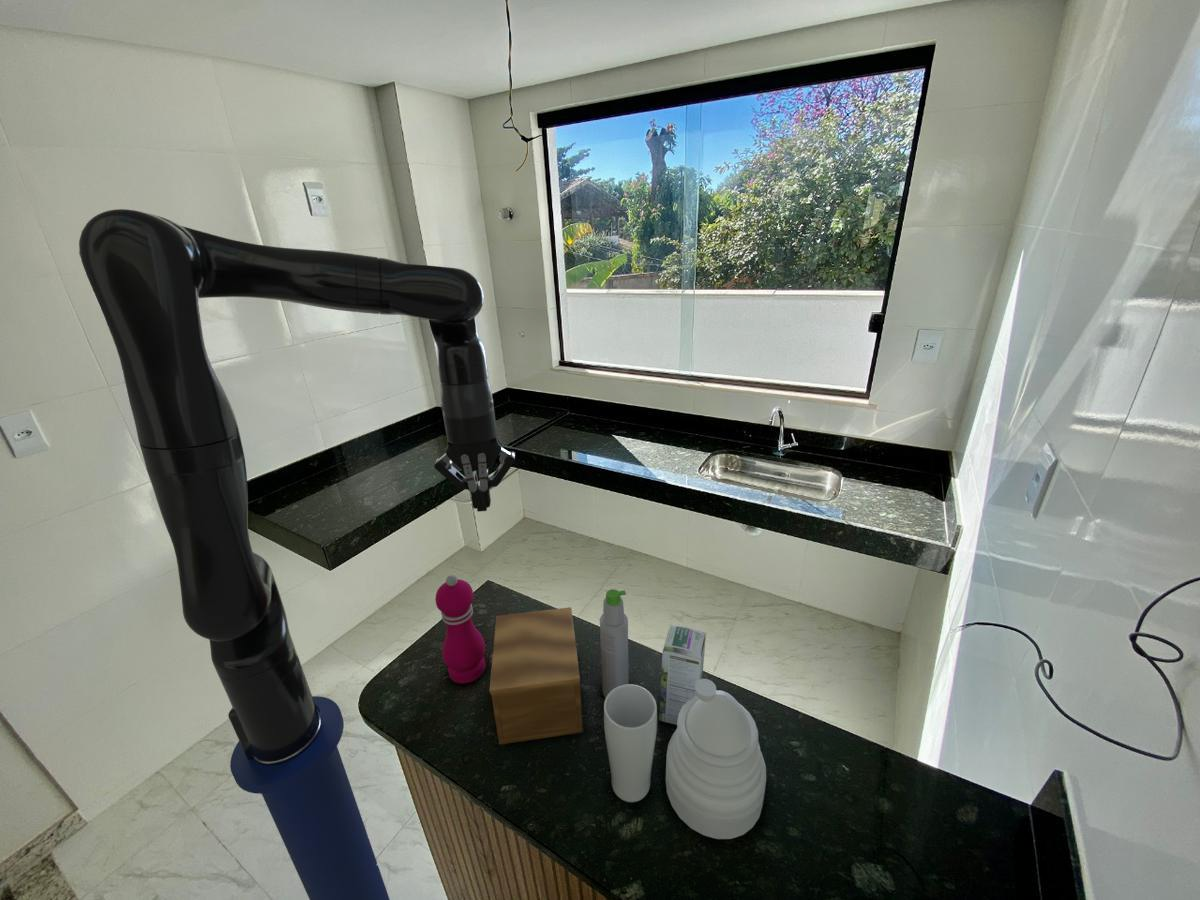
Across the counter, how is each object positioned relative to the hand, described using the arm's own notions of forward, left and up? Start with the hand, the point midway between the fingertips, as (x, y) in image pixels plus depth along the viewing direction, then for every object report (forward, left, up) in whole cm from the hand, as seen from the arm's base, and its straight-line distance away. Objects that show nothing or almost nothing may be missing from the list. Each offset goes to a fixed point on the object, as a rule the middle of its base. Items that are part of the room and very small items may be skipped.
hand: (482, 508), depth 80 cm
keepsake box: (+7, -13, -29) cm, 33 cm away
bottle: (+19, -14, -29) cm, 38 cm away
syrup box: (+29, -19, -29) cm, 45 cm away
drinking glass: (+19, -29, -29) cm, 45 cm away
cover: (+7, -13, -18) cm, 23 cm away
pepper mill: (-6, -5, -29) cm, 30 cm away
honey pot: (+30, -31, -29) cm, 52 cm away
